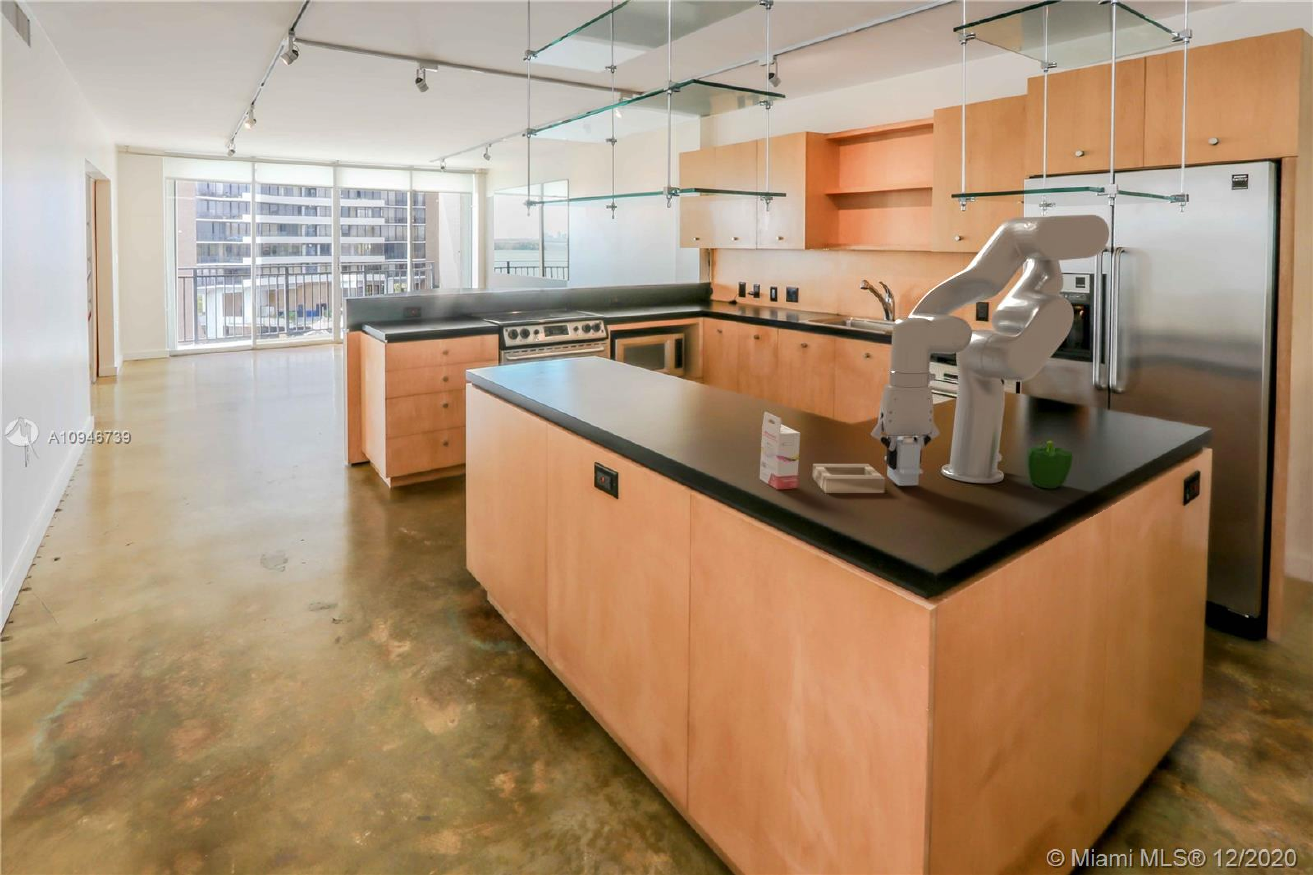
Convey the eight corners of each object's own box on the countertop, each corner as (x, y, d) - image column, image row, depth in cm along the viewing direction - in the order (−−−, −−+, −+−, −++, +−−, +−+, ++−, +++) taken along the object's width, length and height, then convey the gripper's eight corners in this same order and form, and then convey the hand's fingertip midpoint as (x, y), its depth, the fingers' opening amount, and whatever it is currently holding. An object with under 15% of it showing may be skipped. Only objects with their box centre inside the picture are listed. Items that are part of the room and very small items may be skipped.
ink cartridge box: (798, 488, 160) (802, 418, 157) (776, 490, 159) (780, 419, 155) (779, 477, 168) (783, 409, 165) (758, 478, 167) (761, 410, 163)
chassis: (812, 477, 168) (812, 463, 168) (867, 477, 169) (868, 463, 168) (825, 492, 158) (826, 478, 157) (884, 492, 158) (885, 478, 157)
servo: (902, 472, 168) (905, 429, 166) (921, 488, 158) (925, 442, 155) (883, 472, 168) (886, 429, 166) (902, 488, 157) (905, 442, 155)
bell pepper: (1037, 477, 170) (1043, 433, 168) (1075, 487, 164) (1081, 441, 161) (1015, 483, 166) (1021, 437, 164) (1052, 493, 159) (1059, 446, 157)
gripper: (942, 375, 162) (935, 461, 166) (862, 377, 161) (857, 463, 165) (957, 382, 154) (950, 471, 159) (873, 384, 153) (868, 473, 158)
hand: (903, 466), depth 162 cm, fingers closed on servo, 4 cm apart
